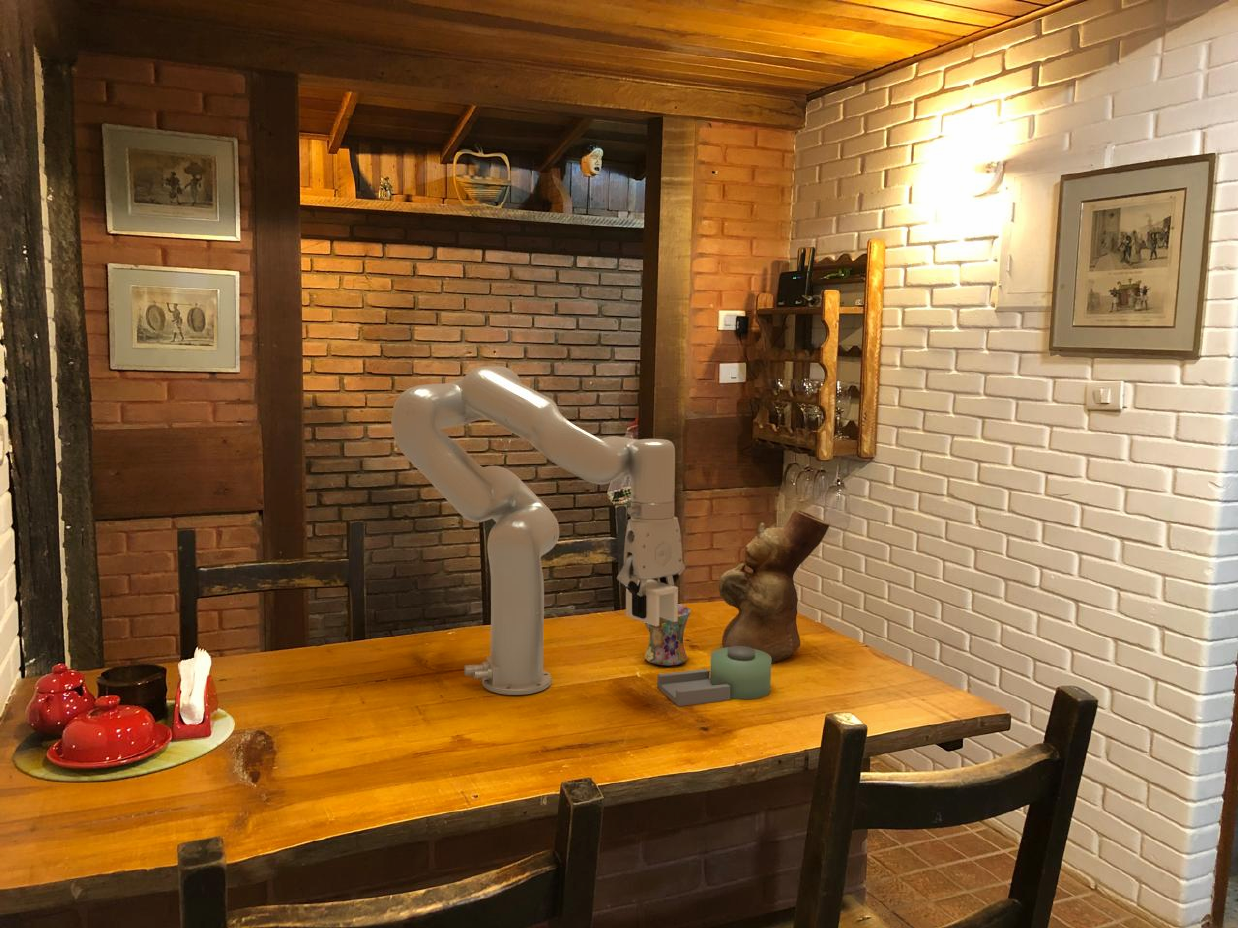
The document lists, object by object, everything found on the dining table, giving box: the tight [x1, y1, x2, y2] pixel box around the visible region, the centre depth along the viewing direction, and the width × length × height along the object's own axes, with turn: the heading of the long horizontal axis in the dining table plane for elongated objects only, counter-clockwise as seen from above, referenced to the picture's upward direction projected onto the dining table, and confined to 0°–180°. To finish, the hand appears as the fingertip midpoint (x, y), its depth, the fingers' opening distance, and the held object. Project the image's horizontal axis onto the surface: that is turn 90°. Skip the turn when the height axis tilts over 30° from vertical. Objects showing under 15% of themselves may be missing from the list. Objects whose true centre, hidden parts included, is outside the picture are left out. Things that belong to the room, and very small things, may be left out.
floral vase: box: [643, 604, 692, 667], centre depth 183 cm, size 12×9×11 cm
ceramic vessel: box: [718, 509, 830, 664], centre depth 187 cm, size 16×22×30 cm
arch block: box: [625, 579, 679, 626], centre depth 160 cm, size 8×5×6 cm, turn 39°
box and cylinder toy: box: [656, 646, 772, 707], centre depth 166 cm, size 20×11×7 cm, turn 111°
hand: (651, 612), depth 160 cm, fingers closed on arch block, 5 cm apart
